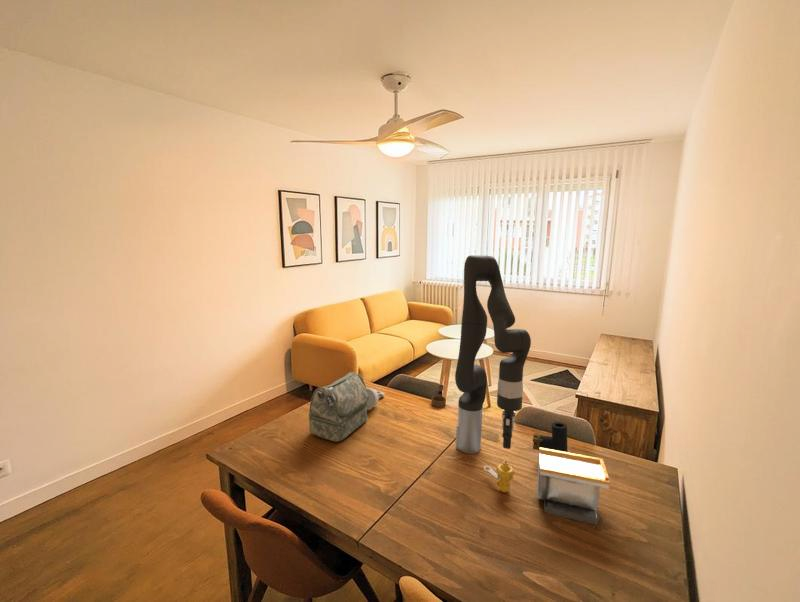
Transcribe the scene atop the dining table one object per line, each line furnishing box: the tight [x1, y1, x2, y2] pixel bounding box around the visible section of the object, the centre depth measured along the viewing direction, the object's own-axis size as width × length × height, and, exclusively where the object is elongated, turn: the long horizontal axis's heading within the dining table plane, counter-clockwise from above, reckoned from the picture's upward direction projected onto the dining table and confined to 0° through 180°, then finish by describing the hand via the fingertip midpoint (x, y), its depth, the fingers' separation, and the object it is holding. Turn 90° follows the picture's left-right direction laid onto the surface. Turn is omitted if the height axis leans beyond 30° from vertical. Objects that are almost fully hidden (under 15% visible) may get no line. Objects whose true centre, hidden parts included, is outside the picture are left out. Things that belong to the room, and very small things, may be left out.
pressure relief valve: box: [483, 460, 515, 493], centre depth 121 cm, size 6×12×10 cm, turn 27°
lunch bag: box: [308, 371, 369, 443], centre depth 157 cm, size 26×18×22 cm
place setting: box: [431, 384, 447, 408], centre depth 183 cm, size 18×20×6 cm
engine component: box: [366, 387, 386, 411], centre depth 182 cm, size 11×20×10 cm, turn 171°
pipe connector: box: [532, 421, 569, 453], centre depth 133 cm, size 12×5×15 cm, turn 65°
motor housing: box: [536, 447, 611, 526], centre depth 111 cm, size 18×12×14 cm, turn 70°
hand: (507, 441), depth 116 cm, fingers open, 8 cm apart
